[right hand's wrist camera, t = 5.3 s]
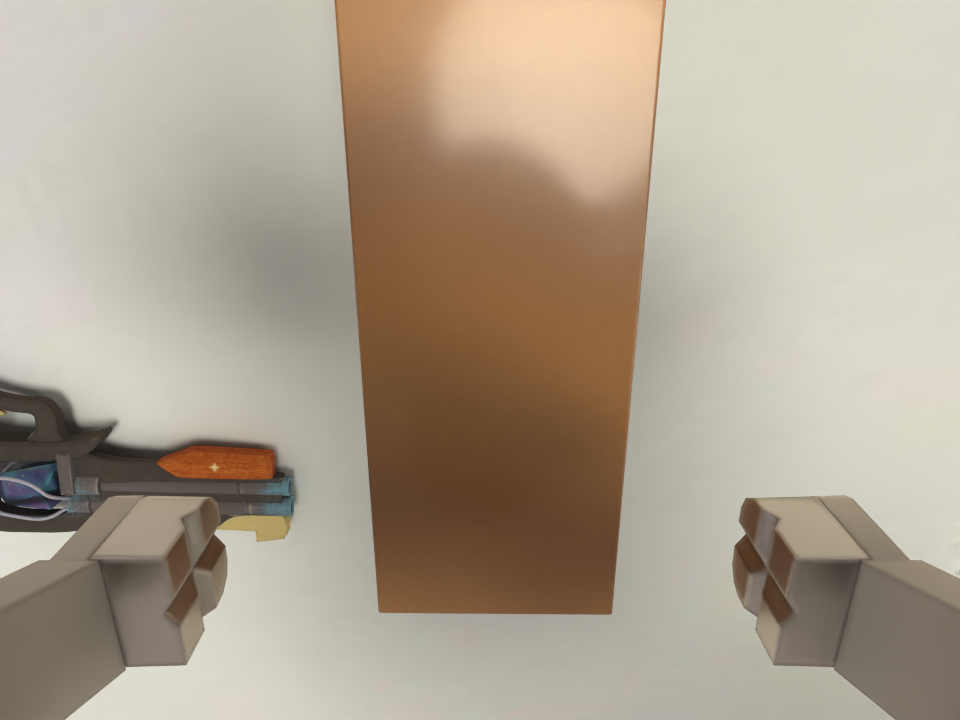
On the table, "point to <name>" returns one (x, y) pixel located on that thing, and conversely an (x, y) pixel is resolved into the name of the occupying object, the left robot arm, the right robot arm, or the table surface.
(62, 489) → the toy gun
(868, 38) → the table surface
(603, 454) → the bar
